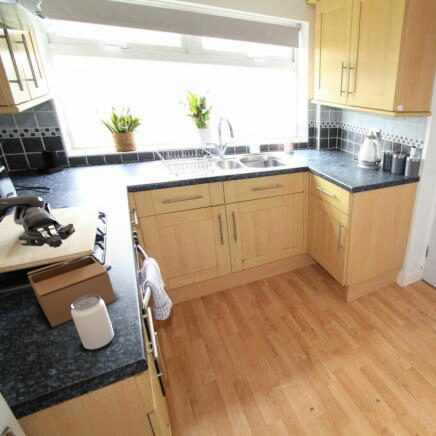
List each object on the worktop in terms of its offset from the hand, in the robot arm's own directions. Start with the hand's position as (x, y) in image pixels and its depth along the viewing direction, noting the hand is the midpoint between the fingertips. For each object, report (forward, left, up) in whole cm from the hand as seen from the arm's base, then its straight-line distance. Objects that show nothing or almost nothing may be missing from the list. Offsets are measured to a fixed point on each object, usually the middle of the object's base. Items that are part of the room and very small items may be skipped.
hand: (56, 244), depth 87 cm
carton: (0, -3, -18) cm, 18 cm away
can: (-1, -24, -18) cm, 30 cm away
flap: (0, +1, -7) cm, 7 cm away
